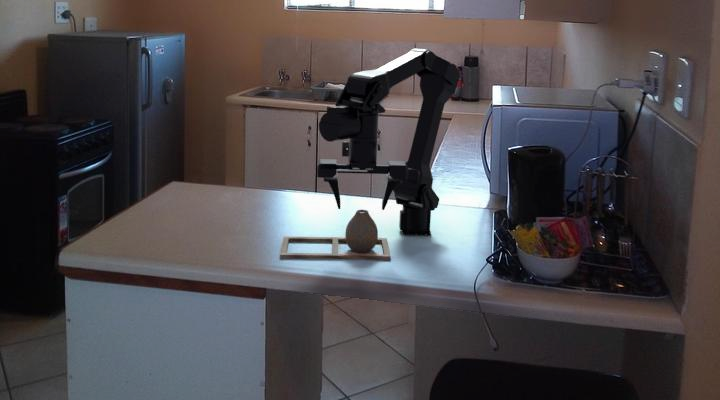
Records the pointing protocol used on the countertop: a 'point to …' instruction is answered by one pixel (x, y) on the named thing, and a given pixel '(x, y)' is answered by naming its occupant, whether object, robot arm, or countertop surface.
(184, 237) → the countertop surface
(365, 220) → the vase
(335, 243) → the rail frame
